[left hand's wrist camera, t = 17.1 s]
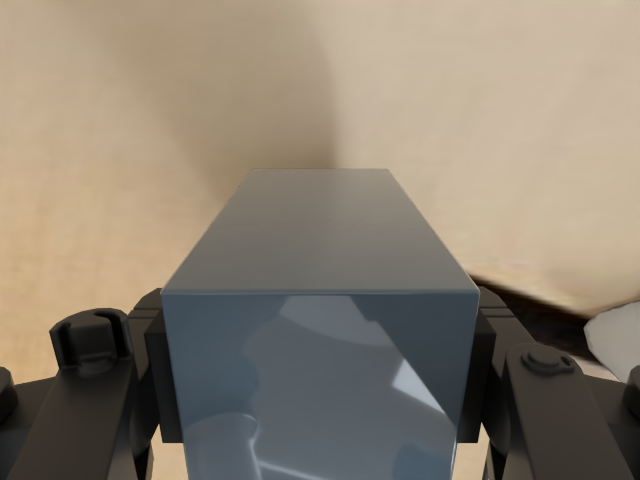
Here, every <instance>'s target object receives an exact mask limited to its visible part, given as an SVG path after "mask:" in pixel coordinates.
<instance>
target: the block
mask: <svg viewBox="0 0 640 480" xmlns="http://www.w3.org/2000/svg"><path fill="white" fill-rule="evenodd" d="M160 295H161V302H162V308H163V315H164V321H165V328H166V334H167V341H168V348H169V354H170V361H171V367H172V374H173V380H174V387H175V393H176V400H177V407H178V413H179V420H180V426H181V433H182V439H183V446H184V453H185V459H186V466H187V472H188V479H189V480H452V475H453V468H454V462H455V455H456V449H457V442H458V436H459V429H460V423H461V416H462V410H463V403H464V397H465V390H466V384H467V377H468V371H469V364H470V358H471V351H472V344H473V338H474V331H475V325H476V318H477V312H478V305H479V299H480V290H479V289H478V287H477V286H476V285H475V283H474V282H473V281H472V279H471V278H470V277H469V275H468V274H467V273H466V271H465V270H464V269H463V267H462V266H461V265H460V264H459V262H458V261H457V260H456V258H455V257H454V256H453V254H452V253H451V252H450V250H449V249H448V248H447V246H446V245H445V244H444V242H443V241H442V240H441V238H440V237H439V236H438V234H437V233H436V232H435V231H434V229H433V228H432V227H431V225H430V224H429V223H428V221H427V220H426V219H425V217H424V216H423V215H422V213H421V212H420V211H419V209H418V208H417V207H416V205H415V204H414V203H413V201H412V200H411V199H410V198H409V196H408V195H407V194H406V192H405V191H404V190H403V188H402V187H401V186H400V184H399V183H398V182H397V180H396V179H395V178H394V176H393V175H392V174H391V172H390V171H389V170H388V169H252V170H251V171H250V172H249V174H248V175H247V176H246V178H245V179H244V180H243V182H242V183H241V184H240V186H239V187H238V188H237V190H236V191H235V192H234V194H233V195H232V196H231V198H230V199H229V200H228V202H227V203H226V204H225V206H224V207H223V208H222V210H221V211H220V212H219V214H218V215H217V216H216V218H215V219H214V220H213V222H212V223H211V224H210V226H209V227H208V228H207V230H206V231H205V232H204V234H203V235H202V236H201V238H200V239H199V240H198V242H197V243H196V244H195V246H194V247H193V248H192V250H191V251H190V252H189V254H188V255H187V256H186V258H185V259H184V260H183V261H182V263H181V264H180V265H179V267H178V268H177V269H176V271H175V272H174V273H173V275H172V276H171V277H170V279H169V280H168V281H167V283H166V284H165V285H164V287H163V288H162V289H161V292H160Z"/></svg>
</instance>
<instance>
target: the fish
mask: <svg viewBox="0 0 640 480" xmlns="http://www.w3.org/2000/svg"><path fill="white" fill-rule="evenodd" d="M584 331H585V335H586V339H587V343H588V347H589V350H590V351H591V352H592V353H593V354H594V356H595V357H596V358H597V359H598V360H599V361H600V362H601V363H602V364H603V365H604V366H605V367H606V368H607V369H608V370H609V371H610V372H611V373H612V374H613V375H614V376H615V377H616V378H618V379H619V380H620V381H621V382H622V383H627V380H628V377H629V374H630V371H631V369H633V368H634V367H636V366H637V365H640V300H638V301H635V302H632V303H628V304H624V305H620V306H616V307H613V308H611V309H609V310H606V311H604V312H601V313H599V314H597V315H596V316H595V317H593V318H592V319H591V320H589V322H588V323H587V324H586V326H585V327H584Z"/></svg>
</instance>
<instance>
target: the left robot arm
mask: <svg viewBox="0 0 640 480" xmlns="http://www.w3.org/2000/svg"><path fill="white" fill-rule="evenodd" d="M161 289H162V288H157V289H155V290H153V291H152V292H150V293H148V294H147V295H145V296H144V297H142V298H141V299H140V301H139V302H138V303H137V304H136V306H135V307H134V310H132V311H131V312H130V313H129V314H128V315H127V314H125V313H124V312H123V311H121V310H118V309H113V308H96V309H91V310H87V311H82V312H79V313H76V314H74V315H71V316H68V317H67V318H65V319H63V320H61V321H60V322H58V323H56V324H55V325H54V327H53V328H52V329H51V330H50V331H49V333H50V337H51V340H52V344H53V348H54V352H55V355H56V359H57V363H58V366H59V370H58V372H57V374H56V376H55V377H51V378H47V379H42V380H37V381H32V382H27V383H22V384H17V385H14V382H13V379H12V376H11V373H10V371H8V370H7V369H6V368H4V367H0V480H151V477H152V469H153V460H154V457H153V451H152V445H151V439H152V437H153V435H154V433H155V431H156V429H157V426H158V424H159V425H160V431H161V436H162V442H163V443H183V439H182V433H181V426H180V420H179V413H178V407H177V400H176V393H175V387H174V380H173V374H172V367H171V361H170V354H169V348H168V341H167V334H166V328H165V321H164V315H163V308H162V302H161V295H160V292H161ZM478 289H479V290H480V299H479V305H478V312H477V318H476V325H475V331H474V338H473V344H472V351H471V358H470V364H469V371H468V377H467V384H466V390H465V397H464V403H463V410H462V416H461V423H460V429H459V436H458V442H457V443H478V438H479V432H480V427H481V422H482V424H483V426H484V428H485V430H486V432H487V434H488V436H489V439H490V440H489V445H488V450H487V456H486V461H485V466H484V472H483V477H482V480H488V479H489V480H640V365H637V366H636V367H634V368H633V369H631V371H630V374H629V377H628V380H627V383H622V382H617V381H612V380H607V379H602V378H597V377H592V376H588V375H585V374H583V372H582V369H581V368H580V366H579V365H578V364H577V363H576V361H575V360H574V359H572V358H571V357H569V356H568V355H566V354H565V353H564V352H562V351H559V350H557V349H555V348H552V347H550V346H546V345H542V344H537V343H536V341H535V340H534V339H533V338H532V337H531V335H530V334H529V333H528V332H527V330H526V329H525V328H524V327H523V326H522V324H521V323H520V322H519V321H518V319H517V318H514V315H513V313H512V312H511V311H510V310H509V309H507V306H506V305H505V304H504V302H503V301H502V300H501V299H500V297H499V296H498V295H496V294H494V293H493V292H491V291H489V290H488V289H486V288H484V287H478Z"/></svg>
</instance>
